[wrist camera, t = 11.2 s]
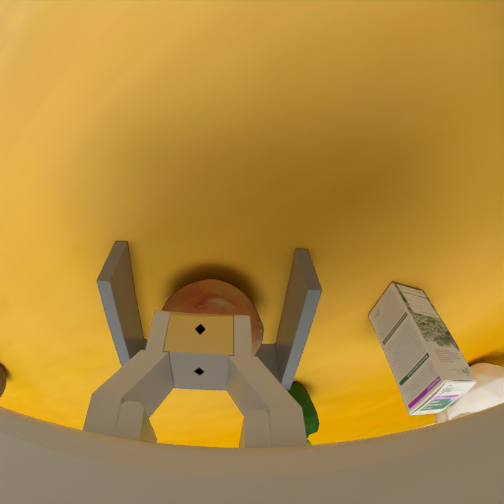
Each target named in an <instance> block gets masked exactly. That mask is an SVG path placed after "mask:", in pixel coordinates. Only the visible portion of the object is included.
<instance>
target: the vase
mask: <svg viewBox="0 0 504 504" xmlns="http://www.w3.org/2000/svg"><path fill="white" fill-rule="evenodd" d="M5 387H6V373H5V371H4V368H3V367H2V366H1V365H0V397H1V396H2V394H3V392H4V390H5Z"/></svg>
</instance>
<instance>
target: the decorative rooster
mask: <svg viewBox="0 0 504 504" xmlns="http://www.w3.org/2000/svg"><path fill="white" fill-rule="evenodd" d="M470 369H471V371H472V373H473V375H474V377H475V378H476V381H477V383H476V384H474V386H473V387H472V388H471V389H470V390H469V391H468V392H467V393H466V394H465V395H464V396H463V397H462V398H461V399H460V400H459V401H458V402H456V403H455V404H454V405H453V406H451V407H450V408H449V409H447V410H446V411H444V412H440V413H435V423H436V424H438V423H442V422H446V421H449V420H453V419H456V418H460V417H463V416H466V415H469V414H472V413H476V412H479V411H482V410H484V409H487V408H490V407H493V406H496V405H499V404H501V403H504V367H502V366H499V365H494V364H489V363H476V364H474V365H472V366H470Z"/></svg>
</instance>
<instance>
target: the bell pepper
mask: <svg viewBox="0 0 504 504" xmlns="http://www.w3.org/2000/svg"><path fill="white" fill-rule="evenodd" d="M287 391H288V393H289V394H290V395H291V396H292V397H293V398H294V399H295V400H296V402H297V403H298V404H299V405H300V406H301V407H302V411H303V418H304V424H305V431H306V438H308V436H309V435H310V434H312V433H315V432H317V431H318V427H319V420H318V416H317V412H316V409H315V407H314V405H313V403H312V401H311V399H310V397H309V395H308V393H307V391H306V390H305V388H304V387H302V386H301V385H299V384H297V383H292V385H291V388H290V390H287ZM307 445H311V443H310V442H309V441H308V440H307Z"/></svg>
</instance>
